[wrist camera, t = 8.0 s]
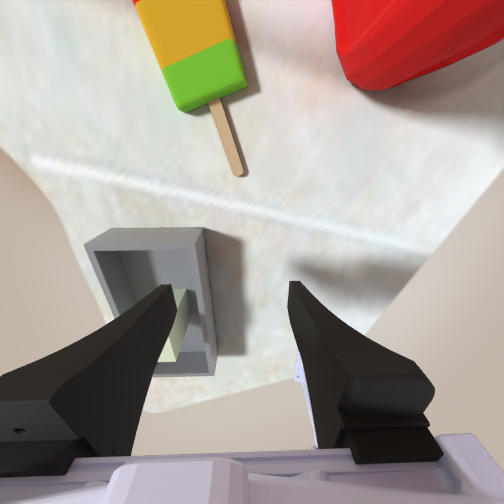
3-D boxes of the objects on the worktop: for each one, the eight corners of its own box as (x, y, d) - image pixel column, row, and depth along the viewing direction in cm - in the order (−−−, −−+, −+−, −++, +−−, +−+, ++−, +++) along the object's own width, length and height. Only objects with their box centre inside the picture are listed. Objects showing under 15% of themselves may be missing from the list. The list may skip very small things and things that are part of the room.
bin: (218, 348, 29) (214, 375, 25) (152, 350, 28) (139, 377, 25) (203, 227, 20) (194, 243, 17) (110, 228, 20) (83, 244, 17)
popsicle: (195, -104, 12) (187, -146, 10) (268, 164, 18) (270, 165, 17) (114, -57, 12) (93, -89, 11) (212, 184, 19) (208, 187, 17)
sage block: (191, 315, 25) (175, 361, 19) (158, 316, 24) (133, 362, 19) (186, 288, 23) (167, 331, 17) (150, 289, 23) (120, 332, 17)
